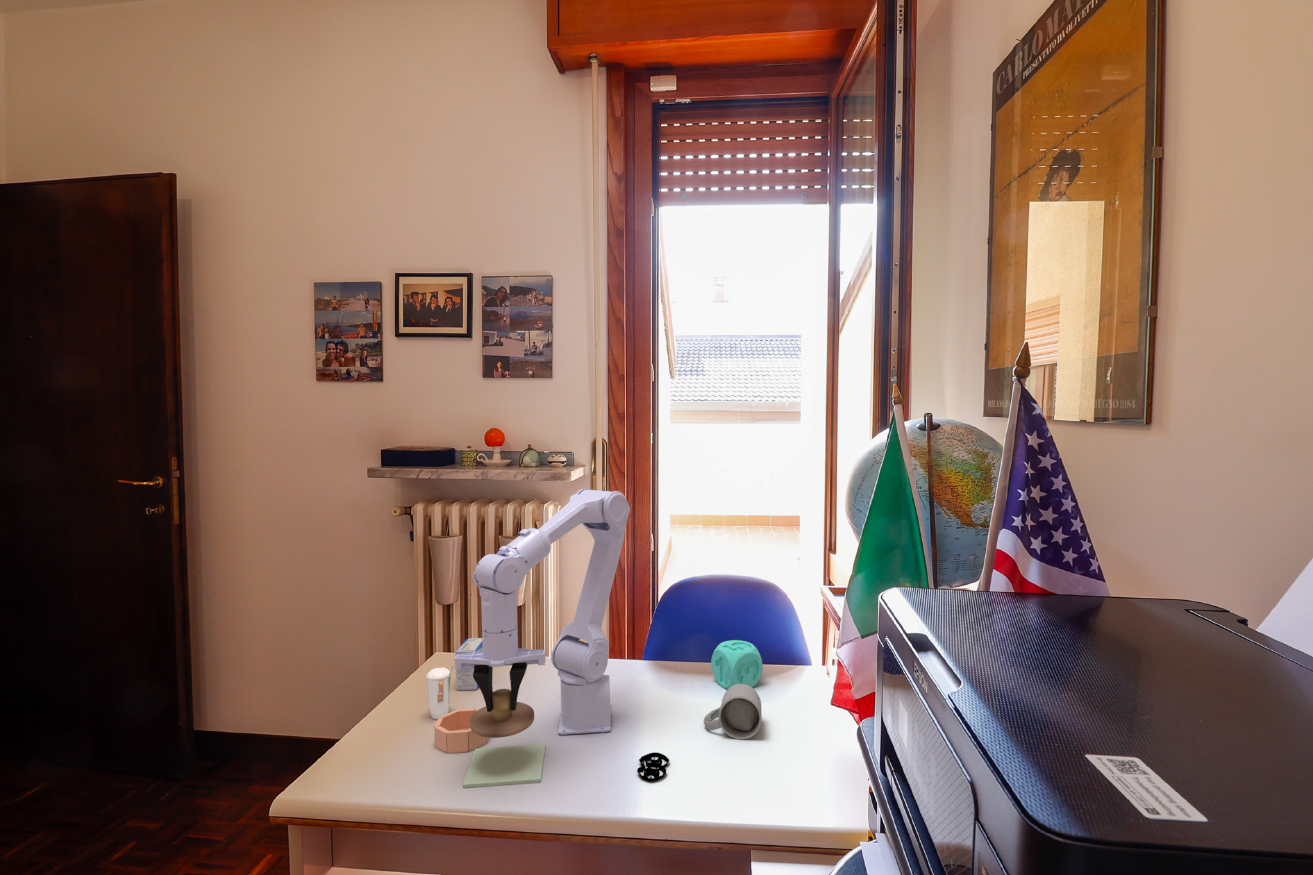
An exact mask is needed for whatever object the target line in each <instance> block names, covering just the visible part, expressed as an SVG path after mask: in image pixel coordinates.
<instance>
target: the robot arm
mask: <svg viewBox="0 0 1313 875" xmlns="http://www.w3.org/2000/svg"><path fill="white" fill-rule="evenodd" d="M630 511H631V507H630V504H629V502H628V501H627V498H626V497H625V495H624V493H622V492H621V491H619V490H614V491H608V490H597V489H590V488H581V489H579V490H578V491H577V492H576V493H574V494H572V495H571V496H570V497H569V501H568V502H567V504H565V505H564V506H562V508H561V509H559V511H558V512H556V513H555V514H554V515H553V516H552V517H551V518H549V519H548V521H546V522H545V523H544V524H542V526H541V527H540V528H535V527H532V528H531V527H530V528H528V529H527V528H523V529H522V530H520V531H519V536H517V537H515V538H514V539H513V540H512V541H510V542H509V543H507V545H502V546H500V547H499V549H498V550H499V551H497V553H489V554H487V555H484V556H483V557H482V558H481V559H480V560H479V561H478V563H477V565H476V566H475V571H474V572H473V573H472V579H473V582H474V583H475V585H476V586H477V587H478V590H479V597H480V601H481V638H482V645H483V651H477V652H471V653H464V654H457V655H456V657H454V670H455V671H456V670H460V669H462V668H469V667H474V672H473V678H474V680H475V681H476V683H477V684H478V686H479V687H478V689H479V690H480V692H481V694H482V697H483V700H484V703H485V706H486V707H487V712H492V693H493V692H494V691H493V689H494V688H493V671H494V670H493V669H494V668H502V667H505V666H511V668H510V670H509V682H510V690H511V711H513V710H515V709H516V706H517V702H518V696H519V692H520V687H521V685H522V684H521V683H522V682H523V680H524V677H525V674H526V671H527V668H528V666H529V665H538V666H545V665H546V649H531V648H519V636H518V635H519V634H518V633H519V631H518V630H519V629H518V628H519V627H518V626H519V625H518V602H517V601H518V599H517V598H518V596H517V595H518V594H517V590H519V589H520V587H521V586H522V585H523V582H524V579H525V577H526V575H527V574H528V572H529V571H531V569H533V568H534V567H535V566H537V564H539V563H540V562H542V561H543V560H544V559H545V558H546V557H548V556H549V555H550V553H551V545H552V544H553V543H555V542H556V541H558V540H559V539H560V538H562V537H563V536H565V535H566V534H568V533H569V532H571V531H572V530H574V529H575V528H576V527H578V526H580V525H582V526H583V527H585V529H586V530H587V531H588V532H589V533H590V534H591V537H592V538H593V540H594V543H593V546H592V551H591V555H590V558H589V561H588V565H587V569H586V573H585V577H584V581H583V583H582V588H581V592H580V595H579V598H578V599H579V600H578V602H577V605H576V606H577V607H576V610H575V613H574V618H573V620H572V622H570V623H569V624H567V625H565V626H564V627H563V628H562V629H561V632H560V634H559V637H558V639H557V641H556V642H555V643H554V646H553V647H552V650H551V657H550V658H551V659H550V660H551V664H552V666H553V667H554V668H555V669H556V670H557V676H558V677H560V707H561V708H560V710H561V711H560V714H559V723H558V731H557V732H558V735H574V734H575V735H577V734H588V733H589V734H590V733H605V732H606V733H607V732H611V729H612V726H611V723H612V722H611V716H613V706H612V704H611V685H610V684H611V683H610V674H609V675H608V674H604V673H605V671H606V670H607V667H608V662H609V658H608V656H609V655H608V652H609V651H608V650H609V646H610V641H609V639H608V637H607V636H606V634H605V633H604V631H603V630H602V626H603V622H604V619H605V618H604V617H605V614H606V611H607V607H608V604H609V603H608V602H609V599H610V596H611V591H612V587H613V584H614V579H615V575H616V573H617V569H618V565H619V560H620V557H621V551H622V548H623V544H624V540H625V535H626V534H625V530H626V526H627V523H628V520H629V516H630ZM582 640H584V641H582ZM585 641H586V642H585Z"/></svg>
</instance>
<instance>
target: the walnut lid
mask: <svg viewBox="0 0 1313 875" xmlns="http://www.w3.org/2000/svg"><path fill="white" fill-rule="evenodd" d="M478 709H479V710H478V711H476V712H475V713H474V714H473V715H472V717H471V719H470V728H471V730H472V731H473V732H474V733H475V734H477V735H479V736H482V737H488V739H489V738H491V739H498V738H507V737H511V736H515V735H517V734H520V733H522V732H524V731H525V730H527V729H528V728H530V727H531V726H532V724H533V723H534V721H535V710H534V709H533V707H532V706H531V705H529V704H528V703H524V702H521V701H517V706H516V709H515V710H513V711H511V689H509V688H499V689H496V690H494V691H493V693H492V712H487V707H486V705H485V706H483V707H481V708H478Z"/></svg>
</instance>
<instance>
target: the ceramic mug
mask: <svg viewBox="0 0 1313 875" xmlns="http://www.w3.org/2000/svg"><path fill="white" fill-rule="evenodd" d="M762 718H763V716H762V700H761V698H760V696H759V694H758V692H757V690H755V688H754V687H753V688H752V687H750V686H748V685H745V684H736V685H733V686H731V687H730V688H729V689H726V691H725V693H724V694H723V697H722V699H721V704H720V706H719V707H718V708H715V709H713V710H711V711H710V712H708V713H707V714H706V715H705V716H704V718H703V724H704V726H705V728H706V730H708V731H715V730H719V729H722V730H723V732H724V733H725V734H726V735H728V736H729V737H730V738H733V739H736V740H748V739H751V738H753V736H755V735H757V733H758V732H759V730H760V728H761V726H762Z"/></svg>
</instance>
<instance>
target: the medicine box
mask: <svg viewBox="0 0 1313 875" xmlns="http://www.w3.org/2000/svg"><path fill="white" fill-rule="evenodd" d="M477 651H483V645H482V637H472V638H466V639H465V640H464V642H463V643H462V644H461V645H460V646H459V647H458V648H457V649H456V650H455V652H454V654H455V655H454V656H455V657H456V655H457V654H464V653H471V652H477ZM455 657H454V658H455ZM473 672H474V667H469V668H462V669H460V670H455V676H456V677H455V680H456V681H455V682H456V691H477V690H478V689H479V686H478V684H477V683H476V681H475V680H474V678H473Z"/></svg>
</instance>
